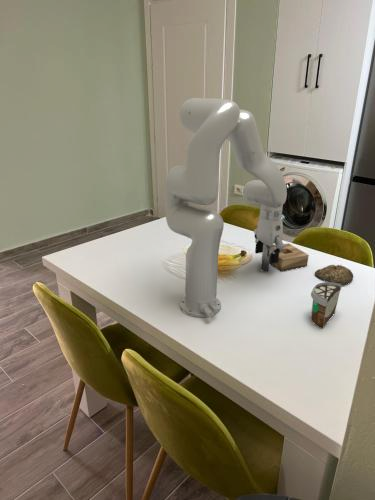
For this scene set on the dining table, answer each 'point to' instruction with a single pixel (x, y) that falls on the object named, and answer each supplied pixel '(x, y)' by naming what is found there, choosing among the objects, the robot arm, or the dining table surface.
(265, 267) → the pin
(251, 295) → the dining table surface
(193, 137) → the robot arm
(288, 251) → the bore block
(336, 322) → the dining table surface
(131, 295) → the dining table surface
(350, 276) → the bread roll
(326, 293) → the food container
